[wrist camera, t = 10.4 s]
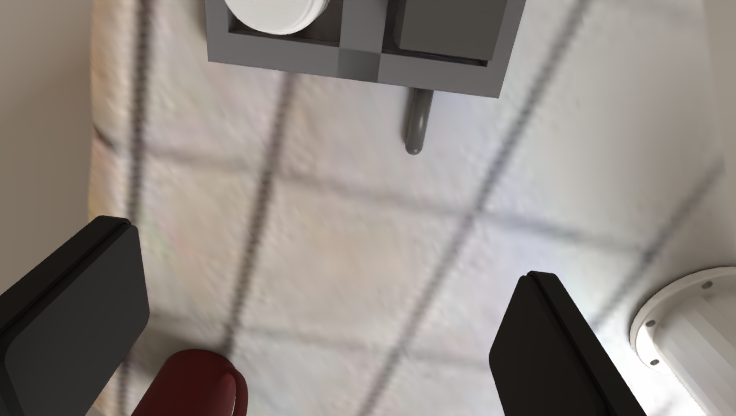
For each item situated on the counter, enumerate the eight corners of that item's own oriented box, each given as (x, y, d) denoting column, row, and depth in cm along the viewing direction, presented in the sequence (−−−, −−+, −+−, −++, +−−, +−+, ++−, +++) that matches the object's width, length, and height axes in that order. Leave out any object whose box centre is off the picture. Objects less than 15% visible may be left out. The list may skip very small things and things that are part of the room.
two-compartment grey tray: (538, -90, 23) (580, -108, 18) (471, 158, 30) (490, 188, 25) (208, -144, 21) (168, -176, 17) (221, 129, 28) (196, 155, 24)
